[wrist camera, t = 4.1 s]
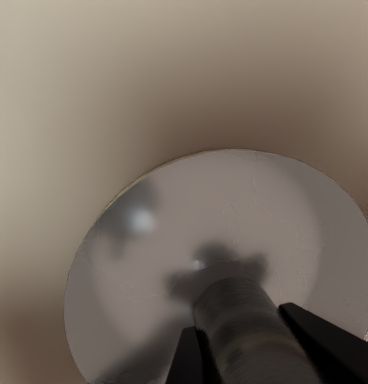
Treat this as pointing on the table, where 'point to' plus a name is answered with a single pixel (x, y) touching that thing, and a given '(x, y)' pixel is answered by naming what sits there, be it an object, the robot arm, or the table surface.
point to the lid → (217, 270)
